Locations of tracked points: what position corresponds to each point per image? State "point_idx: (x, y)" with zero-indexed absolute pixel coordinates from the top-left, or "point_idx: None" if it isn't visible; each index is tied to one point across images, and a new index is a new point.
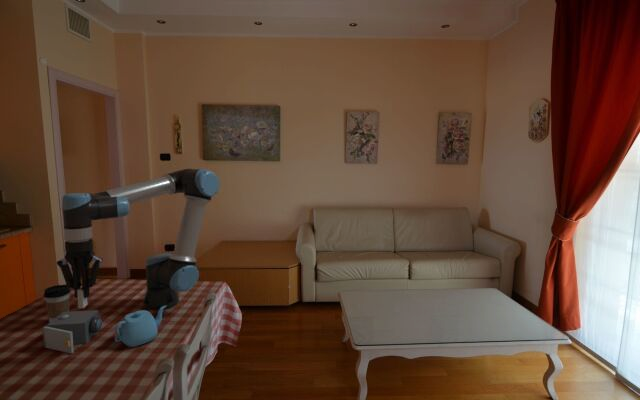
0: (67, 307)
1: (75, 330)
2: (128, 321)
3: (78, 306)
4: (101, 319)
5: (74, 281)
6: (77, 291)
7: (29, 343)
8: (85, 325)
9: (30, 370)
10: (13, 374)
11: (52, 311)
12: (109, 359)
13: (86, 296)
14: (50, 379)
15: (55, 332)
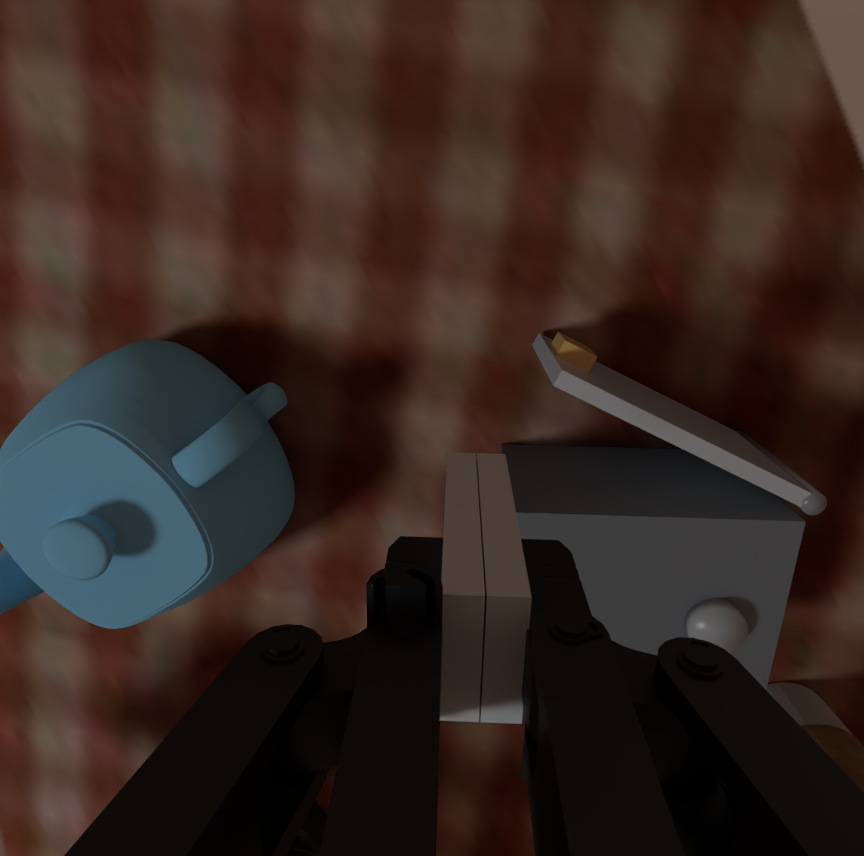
0: None
1: (577, 487)
2: (132, 451)
3: (502, 463)
4: None
5: (612, 749)
6: (525, 582)
7: (860, 506)
8: None
9: (720, 175)
10: (809, 143)
11: (853, 764)
12: (262, 225)
13: (403, 546)
14: (542, 36)
15: (698, 433)
